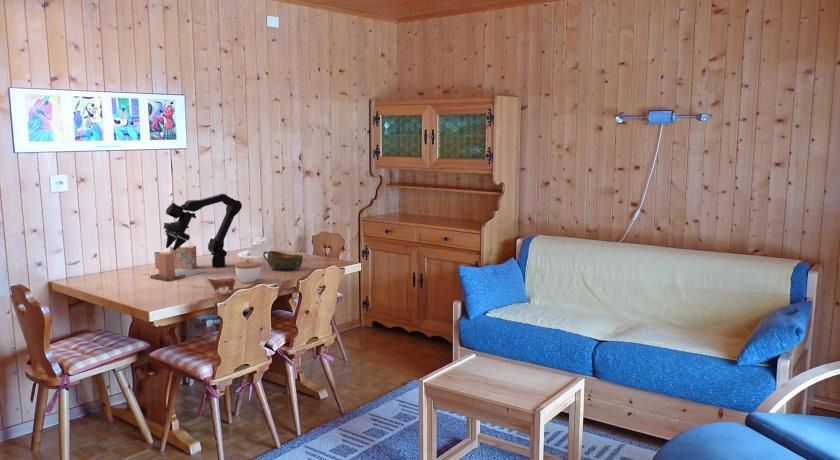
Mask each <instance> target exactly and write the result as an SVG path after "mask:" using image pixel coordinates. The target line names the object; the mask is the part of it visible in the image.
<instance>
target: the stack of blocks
mask: <svg viewBox="0 0 840 460" xmlns="http://www.w3.org/2000/svg"><path fill="white" fill-rule="evenodd" d="M173 247H174V245H172V246H169V250H167V249H166V250H164V249H159V250H156V251H154V263H155V264H154V265H155V266H154V267H155V269H159V264H158V254H159V253H164V252H171V253H174V262H175V270H190V269H192V270H194V269H195V267H196V268H197V265H198V263H197V261H198V260H197V245H192V244H191V245H190V244H189V245H187V244H186V245H184V244H182V245H181V246H180V247H178V248H177V249H176V250H173ZM193 268H194V269H193Z"/></svg>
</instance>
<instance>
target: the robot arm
mask: <svg viewBox="0 0 840 460" xmlns="http://www.w3.org/2000/svg"><path fill="white" fill-rule="evenodd" d="M217 203H223V204H224V205H225V206H226V208H225V211H226V212H225V215H224V217H223V220H222V222H221V224H220V226H219V229H218V231H217V233H216V235H215V237H214V238H212V237H211V238H210V239H209V242H208V243H207V245H208V246H207V249H208V252H209V253H210V254H211V255H212V258H211V265H212V268H225V267H226V266H227V264H226V257H227V255H228V252H227V251H226V250H225V249H224V246H225V239H226V236H227V234H228V231H229V230H230V227H231V224H232V222H233V221H234V218H235V216H237V215H238V214H239V213H240V211H241V210H242V207H243V205H242V201H240V200H238V199H235V198H232V197H230V196H229V195H227V194H225V193H219V194H217V195H212V196H209V197H205V198H202V199H190V200H186V201H185V202H184V203H183V204H182V205H178V204H176V203H174V202H171V204H169V205H168V207H167V208H166V209H165V214H166V215H168V216H169V217H172V218H174V219H178V220H177V221H174V222H172V221H170V222H164V223H163V230H165V231H164V233H165V236H166V243H165V248H166V249H168V248H170V247H171V245H173V243H174V245H173V246H174V247H173V250H176V249H177V248H178V247H180V246H181V245H184V244H185V243H186V242H187V241H188V242H189V240H190V239H191V237H190V234H188V233H185V232H186V231H187V229H189V224H190V222H191V221H192V219H193V218H194V219H197V216H196V213H194V212H197V211H199V210H201V209H203V208H205V207H207V206H211V205H214V204H215V205H216V204H217ZM191 212H192V213H191Z"/></svg>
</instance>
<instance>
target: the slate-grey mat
mask: <svg viewBox="0 0 840 460" xmlns="http://www.w3.org/2000/svg"><path fill="white" fill-rule="evenodd" d="M205 273H206V271H205V270H204V271H203V270H197V269H184V270H182V271H177V272H176V271H175V276H179V275H183V274H185V277H192V275H193V276H196V275H201V274H205Z"/></svg>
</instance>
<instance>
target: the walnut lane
mask: <svg viewBox="0 0 840 460" xmlns="http://www.w3.org/2000/svg"><path fill="white" fill-rule="evenodd" d="M184 277H185V278H186V276H185V274H183V275H175V276H174V277H170V278H165V277H160V276H159V273H156V274H152V275H150V279H152V280H158V281H163V282H170V281H175V280H180V279H184Z"/></svg>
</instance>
